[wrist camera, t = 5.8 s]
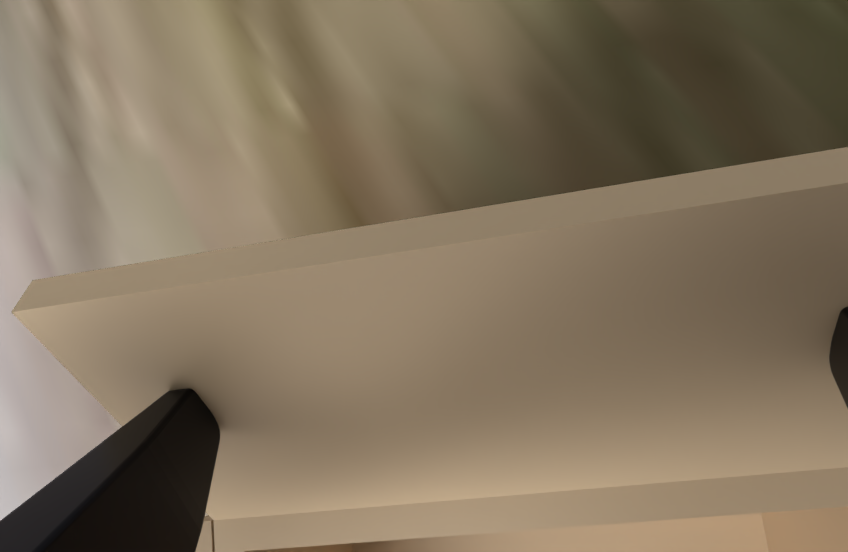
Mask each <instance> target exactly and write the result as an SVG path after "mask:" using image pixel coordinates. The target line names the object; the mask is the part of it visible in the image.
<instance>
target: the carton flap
mask: <svg viewBox="0 0 848 552" xmlns="http://www.w3.org/2000/svg"><path fill="white" fill-rule="evenodd" d="M845 307H848V147H844V148H838V149H832V150H826V151H820V152H814V153H808V154H802V155H795V156H789V157H783V158H777V159H771V160H765V161H759V162H753V163H747V164H740V165H734V166H728V167H722V168H716V169H710V170H704V171H698V172H692V173H685V174H679V175H673V176H667V177H661V178H655V179H649V180H643V181H637V182H630V183H624V184H618V185H612V186H606V187H600V188H594V189H588V190H582V191H575V192H569V193H563V194H557V195H551V196H545V197H539V198H533V199H527V200H520V201H514V202H508V203H502V204H496V205H490V206H484V207H478V208H472V209H465V210H459V211H453V212H447V213H441V214H435V215H429V216H423V217H417V218H410V219H404V220H398V221H392V222H386V223H380V224H374V225H368V226H362V227H355V228H349V229H343V230H337V231H331V232H325V233H319V234H313V235H307V236H300V237H294V238H288V239H282V240H276V241H270V242H264V243H258V244H252V245H245V246H239V247H233V248H227V249H221V250H215V251H209V252H203V253H197V254H190V255H184V256H178V257H172V258H166V259H160V260H154V261H148V262H142V263H135V264H129V265H123V266H117V267H111V268H105V269H99V270H93V271H87V272H81V273H74V274H68V275H62V276H56V277H50V278H44V279H38V280H33V281H32V282H31V284H30V285H29V287H28V288H27V290H26V291H25V292H24V294H23V295H22V297H21V298H20V300H19V301H18V303H17V304H16V306H15V307H14V309H13V310H12V313H13V314H14V315H15V316H16V317H17V318H18V319H19V321H20V322H21V323H22V324H23V325H24V326H25V327H26V328H27V329H28V330H29V331H30V332H31V333H32V334H33V335H34V336H35V337H36V338H37V339H38V340H39V341H40V342H41V343H42V344H43V345H44V346H45V347H46V348H47V349H48V350H49V351H50V352H51V353H52V355H53V356H54V357H55V358H56V359H57V360H58V361H59V362H60V363H61V364H62V365H63V366H64V367H65V368H66V369H67V370H68V371H69V372H70V373H71V374H72V375H73V376H74V377H75V378H76V379H77V380H78V381H79V382H80V383H81V384H82V385H83V386H84V387H85V389H86V390H87V391H88V392H89V393H90V394H91V395H92V396H93V397H94V398H95V399H96V400H97V401H98V402H99V403H100V404H101V405H102V406H103V407H104V408H105V409H106V410H107V411H108V412H109V413H110V414H111V415H112V416H113V417H114V418H115V419H116V420H117V421H118V422H119V424H120V425H121V426H124V425H125V424H126V423H128V422H129V421H130V420H131V419H133V418H134V417H135V416H137V415H138V414H139V413H141V412H142V411H143V410H144V409H146V408H147V407H148V406H150V405H151V404H152V403H153V402H155V401H156V400H157V399H159V398H160V397H161V396H163V395H164V394H165V393H166V392H168V391H170V390H178V389H187V388H190V389H193V390H194V391H195V392H196V393H197V394H198V395H199V397H200V398H201V399H202V401H203V402H204V403H205V404H206V406H207V407H208V408H209V410H210V411H211V412H212V414H213V415H214V417H215V419H216V421H217V423H218V425H219V429H220V443H219V448H218V453H217V458H216V463H215V468H214V473H213V478H212V483H211V488H210V492H209V497H208V502H207V507H206V513H207V514H208V515H209V516H210V517H211V518H212V519H213V520H224V519H236V518H248V517H260V516H272V515H284V514H296V513H308V512H320V511H332V510H344V509H356V508H368V507H380V506H391V505H403V504H415V503H427V502H439V501H451V500H463V499H475V498H487V497H499V496H511V495H523V494H535V493H547V492H559V491H571V490H583V489H595V488H606V487H618V486H630V485H642V484H654V483H666V482H678V481H690V480H702V479H714V478H726V477H738V476H750V475H762V474H774V473H786V472H798V471H809V470H821V469H833V468H845V467H848V408H847V406H846V404H845V402H844V399H843V397H842V395H841V393H840V391H839V388H838V386H837V384H836V382H835V379H834V377H833V375H832V372H831V368H830V363H829V353H830V346H831V340H832V336H833V333H834V330H835V327H836V323H837V320H838V317H839V313H840V311H841V310H842V309H843V308H845Z"/></svg>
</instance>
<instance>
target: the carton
mask: <svg viewBox="0 0 848 552" xmlns="http://www.w3.org/2000/svg"><path fill="white" fill-rule="evenodd" d="M195 552H848V467H845V468H833V469H821V470H809V471H798V472H786V473H774V474H762V475H750V476H738V477H726V478H714V479H702V480H690V481H678V482H666V483H654V484H642V485H630V486H618V487H606V488H595V489H583V490H571V491H559V492H547V493H535V494H523V495H511V496H499V497H487V498H475V499H463V500H451V501H439V502H427V503H415V504H403V505H391V506H380V507H368V508H356V509H344V510H332V511H320V512H308V513H296V514H284V515H272V516H260V517H248V518H236V519H224V520H213V519H212V518H211V517H210V516H209V515H208V516H205V517H204V521H203V526H202V530H201V534H200V537H199V541H198V544H197V548H196V551H195Z"/></svg>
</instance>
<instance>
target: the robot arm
mask: <svg viewBox="0 0 848 552" xmlns="http://www.w3.org/2000/svg"><path fill="white" fill-rule="evenodd" d="M829 363H830V368H831V372H832V375H833V377H834V379H835V382H836V384H837V386H838V388H839V391H840V393H841V395H842V397H843V399H844V402H845V404H846V406H847V408H848V307H845V308H843V309H842V310H841V311H840V313H839V317H838V320H837V323H836V327H835V330H834V333H833V336H832V340H831V346H830V353H829ZM219 443H220V429H219V425H218V423H217V421H216V419H215V417H214V415H213V414H212V412H211V411H210V410H209V408H208V407H207V406H206V404H205V403H204V402H203V401H202V399H201V398H200V397H199V395H198V394H197V393H196V392H195V391H194V390H193V389H190V388H187V389H178V390H170V391H168V392H166V393H165V394H164V395H163V396H161V397H160V398H159V399H157V400H156V401H155V402H153V403H152V404H151V405H150V406H148V407H147V408H146V409H144V410H143V411H142V412H141V413H139V414H138V415H137V416H135V417H134V418H133V419H131V420H130V421H129V422H128V423H126V424H125V425H124V426H122V427H121V428H120V429H119V430H117V431H116V432H115V433H113V434H112V435H111V436H109V437H108V438H107V439H106V440H104V441H103V442H102V443H100V444H99V445H98V446H97V447H95V448H94V449H93V450H91V451H90V452H89V453H87V454H86V455H85V456H84V457H82V458H81V459H80V460H78V461H77V462H76V463H75V464H73V465H72V466H71V467H69V468H68V469H67V470H65V471H64V472H63V473H62V474H60V475H59V476H58V477H56V478H55V479H54V480H53V481H51V482H50V483H49V484H47V485H46V486H45V487H44V488H42V489H41V490H40V491H38V492H37V493H36V494H34V495H33V496H32V497H31V498H29V499H28V500H27V501H25V502H24V503H23V504H22V505H20V506H19V507H18V508H16V509H15V510H14V511H12V512H11V513H10V514H9V515H7V516H6V517H5V518H3V519H2V520H1V521H0V552H195V551H196V548H197V544H198V541H199V537H200V534H201V530H202V526H203V521H204V517H205V512H206V507H207V502H208V497H209V492H210V488H211V483H212V478H213V473H214V468H215V463H216V458H217V453H218V448H219Z"/></svg>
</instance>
